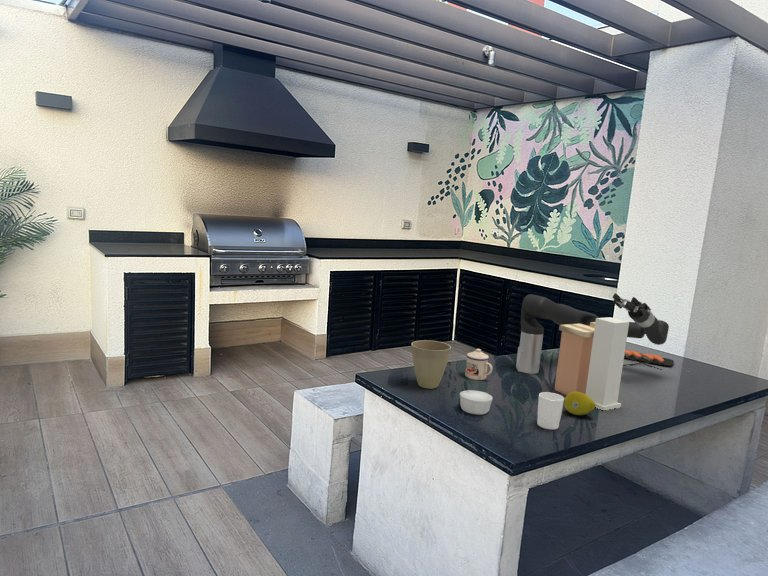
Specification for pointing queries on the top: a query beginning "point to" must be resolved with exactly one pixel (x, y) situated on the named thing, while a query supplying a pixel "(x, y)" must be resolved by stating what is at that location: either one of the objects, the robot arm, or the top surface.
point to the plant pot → (429, 362)
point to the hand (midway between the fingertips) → (623, 297)
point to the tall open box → (573, 363)
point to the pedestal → (607, 362)
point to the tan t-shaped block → (579, 329)
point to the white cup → (549, 410)
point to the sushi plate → (647, 359)
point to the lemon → (578, 403)
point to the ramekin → (475, 402)
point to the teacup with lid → (477, 365)
